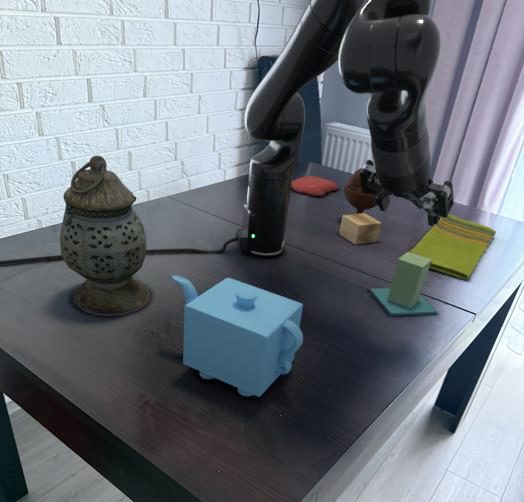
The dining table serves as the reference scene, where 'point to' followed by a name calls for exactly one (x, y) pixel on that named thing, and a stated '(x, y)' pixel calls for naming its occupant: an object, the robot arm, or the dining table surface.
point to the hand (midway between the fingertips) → (408, 213)
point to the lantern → (103, 241)
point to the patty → (313, 186)
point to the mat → (397, 310)
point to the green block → (409, 279)
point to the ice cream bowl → (358, 194)
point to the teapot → (240, 334)
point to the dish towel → (454, 246)
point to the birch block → (360, 228)
